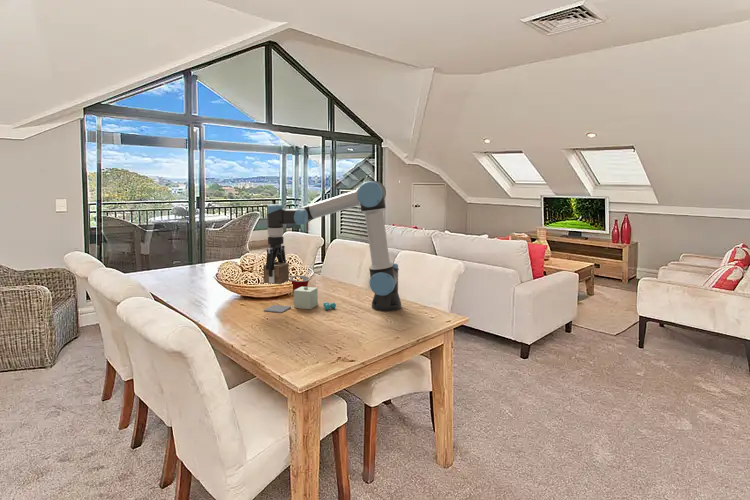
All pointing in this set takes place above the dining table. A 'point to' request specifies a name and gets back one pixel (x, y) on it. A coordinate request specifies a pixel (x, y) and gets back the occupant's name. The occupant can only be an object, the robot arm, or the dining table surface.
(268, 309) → the grey square plate
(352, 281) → the dining table surface
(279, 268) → the walnut cover
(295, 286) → the plastic cup
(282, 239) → the robot arm
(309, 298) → the sage cover
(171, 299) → the dining table surface
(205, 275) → the dining table surface
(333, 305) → the marbles
